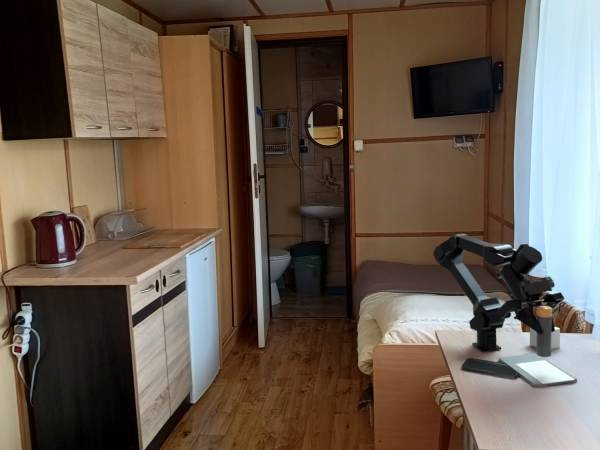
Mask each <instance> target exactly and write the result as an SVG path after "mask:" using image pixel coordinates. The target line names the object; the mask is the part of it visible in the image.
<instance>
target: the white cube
mask: <svg viewBox="0 0 600 450" xmlns="http://www.w3.org/2000/svg"><path fill="white" fill-rule="evenodd" d="M554 327H555V331H554V332H551V349H552V350H555V349H557V348H561V328H559V327H557V326H554ZM529 346H531V347H533V346H534V348H536V347H537V332H536V331H534V330H533V329H531V328H530V327H529Z"/></svg>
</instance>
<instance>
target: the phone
mask: <svg viewBox="0 0 600 450" xmlns="http://www.w3.org/2000/svg"><path fill="white" fill-rule="evenodd" d="M461 370H462V371H464V372H472V373H477V374H481V375H482V374H483V375H489V376H493V377H494V376H495V377H500V378H505V379H512V380H517V379H518V378H519V377H520V376H519V373H518V372H516V371H515V370H514V369H512V368H511V367H509V366H508V365H507V364H506V363H502V362H500V361H495V360H494V361H493V360H486V359H481V358H473V357H467V358H466V359H465V361H463V363H462V364H461Z"/></svg>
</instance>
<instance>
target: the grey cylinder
mask: <svg viewBox="0 0 600 450" xmlns="http://www.w3.org/2000/svg"><path fill="white" fill-rule="evenodd" d="M535 309H536V308H535ZM535 312H536V313H535V315H536V319H537V321H538V322H539V324H540V326H541V328H542V330H543V332H544V333H543V334H542V335H540V334H539V333H537V348H536V351H535V353H536V354H537V355H538V356H541V357H544V358H549V357H551V356H552V350H551V329H552V317H553V309H552V308H551V307H548V306H538V307H537V309H536V311H535Z"/></svg>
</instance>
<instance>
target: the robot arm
mask: <svg viewBox="0 0 600 450" xmlns="http://www.w3.org/2000/svg"><path fill="white" fill-rule="evenodd" d="M465 251H466V252H468V253H472V254H474V255H477V256H480V257H481V258H482V260H483V261H484V262H485V263H487V264H488V265H489V266H491V267H498V266H502V268H498V269H497V270H496V274H495V278H496V279H502V280H503V281H504V283H505V285H506V286H507V288H508V289H509V290H508V292H507V294H508V296H513V298H514V299H511V300H510V299H509V300H505V302H504V303H503V304H501V303H500V301H499V300H498V298H497V297H495V296H494V297H489V296H487V295H486V293H485V292H484V290H483V289H482V287H481V286H480V285H479V284H478V282H477V280H476V279H475V278H474V276H473V275H472V274H471V272H470V271H469V269H468V268H467V266H466V265H465V264H464V261H463V259H464V256H463V255H464V254H463V253H464V252H465ZM433 258H434V260H435V261H436V262H437V264H439V266H440V267H441V268H444V269H445V270H447V271H448V272H450V273H451V275H452V277H454V279H455V280H456V282H457V284H458V285H459V286H460V288H461V290H462V291H463V292H464V294H465V295H466V297H467V298H468V300H469V301H470V303H471V304H472V315H473V317H472V318H471V319H470V320H469V322H468V323H469V328H470V329H472V330H474V331H476V342H472V343H471V344H472V346H474V347H475V348H476V349H477V350H479V351H480V352H489V351H491V352H492V351H499V350H501V349H502V347H501V346H499V345H498V344H497V329H502V328H503V326H504V323H505V321H506V319H510V318H511V317H512V313H513V312H514V314H515V316H514V317H513V319H514V320H518V321H519V322H521V323H522V324H524V325H526V326H527V327H529V329H530V328H531V329H533V330H534V331H536V332H537V333H539V334H540V335H542V334H543V333H544V332H543V330H542V328H541V326H540V324H539V322H538V321H537V316H535V315H536V314H534V308H535V309H537V307H538V306H548V307H551V308H552V310H553V309H555V308H556V307H558V306H559V305H560V304H561V303H562V302H563V301H564V300H566V298H565V297H564V294H562V292H561V291H558V290H556V291H553V288H555V282H554V279H553V278H552V277H551V276H550V275H547V276H544V277H541V278H540V280H538V281H537V280H536V281H534V280H533V279H529V278H528V277H527V276H526V275H528V274H530V273H531V272H532V271H533V270H534V269H535V268H536V267H537V266H538V265H539V264H541V263H542V261H543V255H542V253H541V252H540V251H539V250H538V249H537V248H535V247H533V246H530V245H529V244H528V243H525V242H524V243H521V244H520V245H519V246H518V248H517V249H514V247H513V246H512V245H510V244H509V243H508V244H507V243H506V244H505V243H491V242H487V241H484V240H482V239H479V238H476V237H473V236H470V235H468V234H465V233H458V234H453V235H451V236H450V237H449V238H447V240H445V241H443V242H441V243H440V244H439V245H437V246H435V248H434V250H433ZM552 291H553V292H552ZM546 292H547V293H546ZM544 293H546V294H545V295H544ZM543 295H544V296H543ZM555 327H556V326H555V323H554V317H553V316H552V329H551V332H554V331H555Z"/></svg>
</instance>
